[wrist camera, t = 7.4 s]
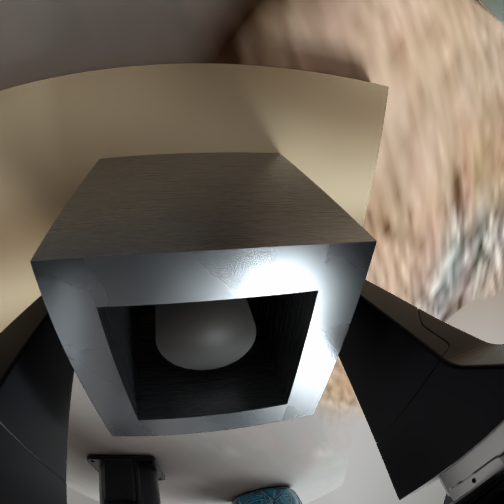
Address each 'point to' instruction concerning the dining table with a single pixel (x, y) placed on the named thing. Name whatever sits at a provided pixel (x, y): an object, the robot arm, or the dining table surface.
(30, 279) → the board
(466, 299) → the dining table surface
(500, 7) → the cup
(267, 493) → the lamp
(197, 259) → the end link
